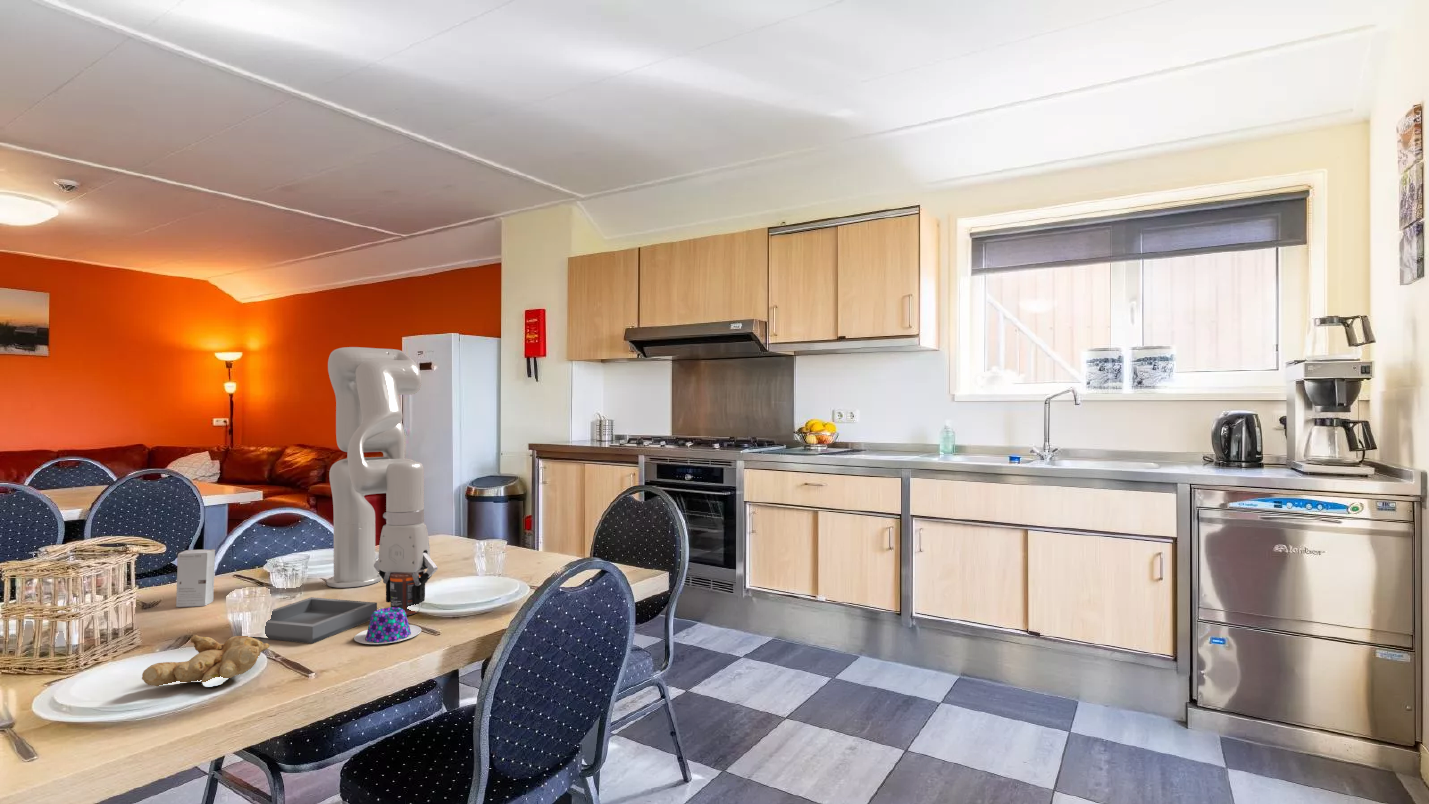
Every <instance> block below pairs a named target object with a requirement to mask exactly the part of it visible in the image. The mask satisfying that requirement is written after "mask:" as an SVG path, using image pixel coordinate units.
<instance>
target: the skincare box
mask: <svg viewBox="0 0 1429 804" xmlns="http://www.w3.org/2000/svg"><path fill="white" fill-rule="evenodd" d="M215 561H216V550H215V549H186V550H184V551H181V552H179V553H177V568H176V569H177V570H176V571H177V572H176V573H177V574H176V597H175V598H176V601H175V602H176V603H175V607H176V608H185V607H187V608H189V607H204V606H207V605H209V604H212V602H214V593H215V592H214V591H215V588H214V587H215V566H216V564H215Z"/></svg>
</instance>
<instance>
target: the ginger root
mask: <svg viewBox="0 0 1429 804" xmlns="http://www.w3.org/2000/svg"><path fill="white" fill-rule="evenodd" d="M189 640H190V643H193V648H194V649H195V650H196V651H197V652H198V653H197V654H196V655H194V656H193V657H191V658H190V659H189V660H186V661H179V662H177V661H166V662H165V661H163V662H157V663H153V664H152V665H150V666H148V667H146V669H144V670H143V672H142V675H141V680H142V681H143V682H144V683H145V684H146V685H148V686H153V687H158V686H159V685H163V684H168V683H172V682H176V681H180V682H191V681H197V680H198V681H200V680H202V681H201V683H202V682H206V681H208V680H210V679H212V678H215V677H220V676H221V677H223V678H230V679H232V678H234V677H235V676H238V675H239V674H240V675H243V674H245V673H247V672H248V671H249V670H251V669H252V668H253V667H254V666H255V665H256V663H257V661H258V658H259V657H260V656H261V653H263V652H264V651H266V650H268V649H269V648H270V646H271V645H270V644H269V643H267V642H266V643H264V642H263V641H261V640H259V639H258V638H253V637H248V636H241V635H235V636H231V637H230V638H229V639H227V640H226V641H225V642H224V643H220V642H218V641H217V640H215V639H214V638H212V637H209V636H199V635H197V634H194V635H192V636H191V637H190V638H189ZM258 656H259V657H258ZM246 671H247V672H246ZM240 675H239V676H240ZM201 683H200V684H201Z"/></svg>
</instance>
